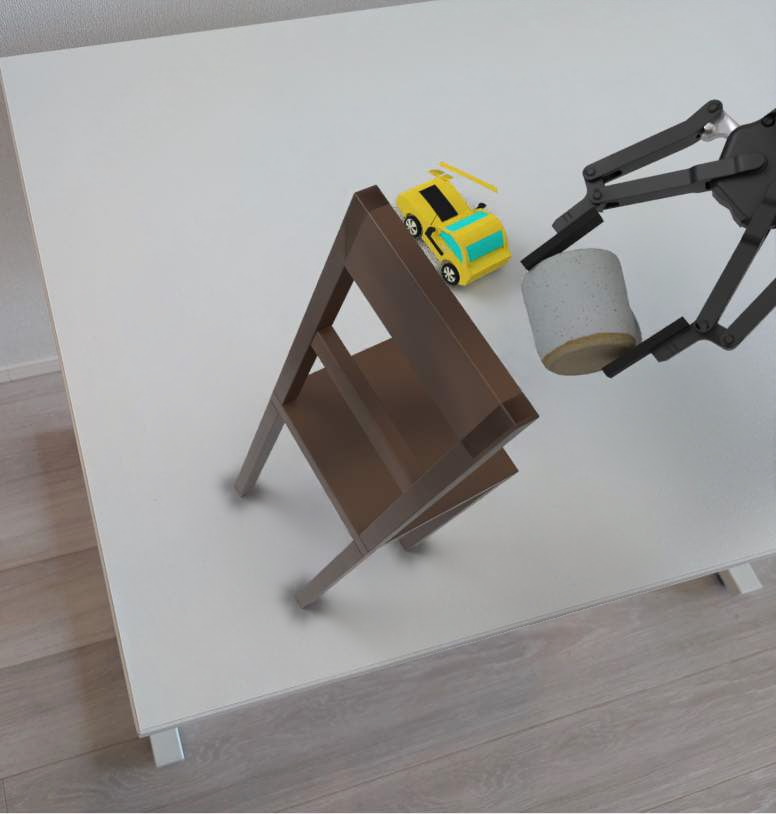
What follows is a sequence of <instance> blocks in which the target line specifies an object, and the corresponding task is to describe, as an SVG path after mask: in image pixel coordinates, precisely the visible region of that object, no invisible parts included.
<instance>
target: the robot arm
mask: <svg viewBox="0 0 776 814" xmlns="http://www.w3.org/2000/svg"><path fill="white" fill-rule="evenodd" d="M719 138H723V139H725V143H724V145H723V146H722V147H723V148H722V150H721V152H720V155H719V158H718V160H712V161H708V162H703V163H698V164H695V165H692V166H691V167H688V168H684V169H679V170H674V171H670V172H666V173H660V174H656V175H652V176H646V177H642V178H636V179H632V180H631V179H630V180H627V181H623V182H617V183H614V184H613V183H612V184H608V183H610V182H612V181H615V180H617V179H620V178H622V177H624V176H626V175H628V174H630V173H633V172H635V171H638V170H640V169H642V168H644V167H646V166H649V165H651V164H654V163H656V162H659V161H660V160H662V159H664V158H665V159H666V158H667V157H669V156H672V155H674V154H676V153H678V152H680V151H683V150H685V149H687V148H690V147H691V146H694V145H695V144H697V143H698V142H699V141H703V142H704V143H705V142H706V143H707V142H713V141H715V140H716V139H719ZM581 174H582V177H583V179H584V183H585V187H586V193H585V195H584V197H583V198H582V199H581V200H580V201H578V202H577V203H576V204H574V205H573V206H571V207H570V208H568V210H566V211H565V212H563V213H562V214H561V215H560V216H558V217H557V218H555V219H554V221H553V222H552V224H551V227H552V229H553V230H554V231H555V232H556V233H555V234H554V235H553V236H552V237H550V238H549V239H547V240H546V241H545V242H544V243H542V244H541V245H540V246H538V247H536V249H534V250H533V251H531V252H530V253H529V254H527V255H526V256H525V257H523V258H521V260H519V262H520V264H521V265H522V267H523V268H524V270H526V271H527V272H528V271H529V270H530V269H531V268H533V267H534V266H535V265H537V264H538V263H540V262H541V261H543V260H545V259H547V258H549V257H552V256H554V255H556V254H559V253H562V252H565V251H567V249H569V248H570V247H571V246H573V245H574V244H575V243H577V242H578V241H579V240H582V239H583V238H584V237H585V236H587V235H588V234H589V233H591V232H592V231H594V230H595V229H597V228H598V227H599V226H601V225H602V224H603V223H604V222H605V220H604V219H603V217H602V215H601V214H600V213H604V211H606V210H613V209H617V208H621V207H627V206H632V205H637V204H643V203H647V202H653V201H658V200H663V199H668V198H673V197H678V196H682V195H689V194H701V193H707V192H711V196H712V197H713V199H714V200H715V201H716V202H717V203H718V204H719V205H721V206H722V207H724V208H725V209H727V210H728V211H729V213H730V215H731V218H732V220H733V221H734V223H736V225H737V226H738V227H739V228H740V229H741V228H743V229H745V230H744V232H743V234H742V236H741V238H740V239H739V242H738V243H737V245H736V247H735V249H734V250H733V252H732V255H731V256H730V258H729V260H728V261H727V264H726V265H725V266H724V269H723V271H722V272H721V273H720V276H719V277H718V279H717V281H716V283H715V285H714V287H713V288H712V290H711V292H710V294H709V296H708V298H707V299H706V301H705V302H704V304H703V306H702V308H701V310H700V312H699V313H698V315H697V317H696V319H695V320H694V321H693V322H691V323H689V322H688V321H687V319H686V318H685V317H684V316H683V315H682V316H680V317H679V318H677V319H675V320H674V321H672V322H671V323H670V324H668V325H666V326H665V327H663V328H662V329H659V330H658V331H657V332H656V333H654V334H652V335H651V336H648V337H647V338H646V339H644V340H642V342H641V343H640V344H638V345H637V346H635V347H634V348H632V349H631V350H629V351H627V352H626V353H624V354H623V355H621V356H620V357H618V358H617V359H615V360H613V361H612V362H610V363H609V364H607V365H606V366H604V367H603V368H601V370H602V371H601V372H602V373H603V374H604V376H606V378H608V379H614V377H616V376H618V375H619V374H620V373H622V372H624V371H625V370H627V369H628V368H630V367H632V366H633V365H635V364H636V363H638V362H639V361H642V360H643V359H644V358H646V357H648V356H649V355H650V354H651V355H652V356H653V357H654V359H655V360H656V361H657V362H658V363H663V362H666V361H667V362H668V361H669V360H670V359H672V358H674V357H675V356H677V355H678V354H680V353H683V351H685V350H686V349H688V348H690V347H692V346H693V345H695V344H696V343H698V342H700V341H708V342H710V343H712V344H714V345H716V346H718V347H719V348H721V349H722V350H724V351H727V352H729V351H733V350H735V349H737V348H738V347H739V346H740V344H741V343H742V342H744V340H745V339H746V338H747V337H749V336H750V334H751V333H752V332H753V331H754V330H756V328H757V327H758V326H759V325H760V324H761V323H762V322H763V321H764V320H765V319H766V318H767V317H768V316H769V314H771V313H772V312H773V311H774V310H775V308H776V277H775V278H773V280H772V281H771V282H769V284H768V285H767V286H766V287H765V288H764V289H762V291H761V293H759V294H758V295H757V297H755V299H754V300H753V301H752V302H751V303H750V304H749V305H748V306H747V307H746V308H744V310H743V311H742V312H741V313H740V314H739V315H738V316H737V317H736V318H735V320H733V322H732V323H731V324H730V325H729V326H728V327H725V326H723V325H721V324H719V322H720V320H721V318H722V316H723V314H724V313H725V311H726V309H727V308H728V306H729V304H730V302H731V300H732V298H733V297H734V295H735V294H736V291H738V288H739V286H740V284H741V283H742V281H743V279H744V277H745V276H746V274H747V272H748V271H749V269H750V267H751V265H752V263H753V261H754V259H755V258H756V256H757V254H758V253H759V252H760V250H761V248H762V247H763V245H764V243H765V241H766V240H767V238H768V236H769V235H770V232H771V231H772V230H776V107H775V108H774V109H772V110H770V111H769V112H767V113H766V114H765V115H764V116H763V117H761V118H759V119H757V120H756V121H755V120H754V121H752V122H750V123H749V122H748V123H745V124H741V125H740V124H739V123H738V122H737V121H736V120H734V118H733V117H731V116H730V115H729V114H728V113H727V112H726V111H725V110H724V104H723V102H722V101H721V100H719V99H715V98H714V99H710V100H708V101H707V102H706V103H705V104H703V105H702V106H701V107H699V109H698V110H696V111H695V112H694V113H693V114H692V115H691V116H689V117H688V118H687V119H686V120H684V121H682V122H679V123H677V124H675V125H673V126H671V127H668V128H667V129H664V130H661V131H659V132H657V133H655V134H653V135H651V136H649V137H647V138H645V139H642V140H640V141H638V142H636V143H633V144H631V145H629V146H627V147H624V148H623V149H620V150H617V151H616V152H613V153H612V154H609V155H607V156H605V157H602V158H600V159H598V160H596V161H593V162H591V163H589V164H588V165H585V167H584V168H583V169H582V173H581ZM606 184H608V185H606Z"/></svg>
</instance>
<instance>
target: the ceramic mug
mask: <svg viewBox="0 0 776 814" xmlns="http://www.w3.org/2000/svg"><path fill="white" fill-rule="evenodd" d="M625 281H626V280H625V276H624V271H623V268H622V264H621V261H620V259H619V257H618V255H617V254H616V253H613V252H612V251H611V250H608V249H605V248H604V249H603V248H597V247H587V248H577V249H576V248H575V249H571V250H570V249H569V250H564V251H563V252H562V253H559V254H556V255H554V256H552V257H549V258H547V259H545V260H543V261H541V262H540V263H538V264H537V265H535V266H534V267H533V268H531V269H530V270H529V271H528V270H527V272H526V273H525V274H524V275H523V277H522V278H521V282H520V292H521V295H522V298H523V302H524V303H523V304H524V306H525V310H526V314H527V318H528V323H529V325H530V329H531V333H532V338H533V342H534V344H535V349H536V353H537V355H538V357H539V359H540V362H541V364H542V366H543V367H544V368H545V369H546V370H547V371H549V372H551V373H553V374H555V375H559V376H565V377H568V376H569V377H573V376H574V377H575V376H577V377H578V376H585V375H590V374H594V373H599V372H603V371H602V370H601V368H603V367H604V366H606V365H607V364H609V363H610V362H612V361H613V360H615V359H617V358H618V357H620V356H621V355H623V354H624V353H626V352H627V351H629V350H631V349H632V348H634V347H635V346H637V345H638V344H640V343H641V342H643V335H642V330H641V326H640V324H639V322H638V319H637V316H636V315H635V313H634V311H633V310H632V308H631V306H630V305H631V304H630V300H629V297H628V291H627V286H626V282H625Z"/></svg>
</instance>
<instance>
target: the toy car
mask: <svg viewBox="0 0 776 814" xmlns="http://www.w3.org/2000/svg"><path fill="white" fill-rule="evenodd" d="M437 165H438V166H440V167H442V168H445V169H447V170H448V171H450V172H452V173H455V174H457V175H460V176H462V177H463V178H465V179H467V180H470V181H472V182H474V183H476V184H477V185H480V186H482V187H484V188H486V189H488V190H490V191H491V192H494V193H496V194H499V191H498V187H497V186H494V185H492V184H490V183H488V182H486V181H484V180H483V179H480V178H478V177H476V176H474V175H472V174H470V173H467V172H465V171H463V170H461V169H459V168H456V167H455V166H453V165H451V164H448V163H446V162H444V161H441V162H438V163H437ZM426 173H429V174H430V175H432V176H434V177H435V178H432V179H430V180H427V181H425V182H423V183H421V184H419V185H416V186H414V187H412V188H409V189H407V190H405V191H402V192H401V193H398V195H397V197H396V199H395V203H396V207H397V208H398V210H399V211H400V212H401V214H402V215H403V216H404V217H405V218H404V221H403V223H404V224H405V226H406V227H407V229H408V230H409V231H410V233H411V234H412V236H413V237H414V238H415V239H416V238H419V237H420V236H421V235H422V236H421V239H422V240H423V242H424V243H425V244H426V245H427V247H428V248H429V250H430V251H431V252H432V253H433V254H434V256H435V257H436V258H437V259H438V261H439V262H440V263H441V264H442V263H444V262H445V263H444V264H442V265H441V271H440V272H441V277H442V278H443V280H444V281H445V283H446V284H447V285H448V286H449V285H450V286H456V285H460V286H467V285H468V284H471V283H473V282H474V281H477V280H478V279H481V278H482V277H485V276H486V275H488V274H491V273H492V272H494V271H496V270H498V269H500V268H502V267H504V266H506V265H507V264H508V262H509V261H510V260H511V259H512V258H513V255H512V252H511V250H510V247H509V241H508V235H507V232H506V230H505V227H504V225H503V222H502V220H501V219H499V217H498V216H497V215H494V213H492V212H491V211H488V210H486V209H485V208H486V207H487V204H486V203H484V202H479V203H478V204H477V206H476V207H475V208H474V209H472V208H470V206H469V204H468V203H467V201H466V200H465V199H464V197H463V196H462V195H461V194H460V192H459V191H458V189H456V187H455V186H454V185H453V183H451V182H450V180H452V179H454V178H455V176H453V175H450V174H447V173H446V172H445V171H443V170H440V169H430V170H428V171H426ZM447 261H448V262H447Z"/></svg>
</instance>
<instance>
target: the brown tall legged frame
mask: <svg viewBox="0 0 776 814" xmlns="http://www.w3.org/2000/svg"><path fill="white" fill-rule="evenodd" d="M354 283H355V284H356V286H357V287H358V289H359V290H360V292H361V293H362V295H363V297H364V298H365V299H366V301H367V302H368V304H369V305H370V307H371V309H372V310H373V311H374V313H375V314H376V316H377V318H378V319H379V320H380V322H381V324H382V325H383V326H384V327H385V329H386V331H387V333H388V334H389V335H390V338H388V339H386V340H383V341H380V342H379V343H376V344H375V345H372V346H370V347H368V348H365V349H363V350H361V351H358V352H357V353H354V354H352V355H351V353H350V351H349V350H348V348H347V347H346V345H345V344H344V342H343V340H342V339H341V338H340V336H339V334H338V333H337V331H336V329H335V328H334V326H333V325H334V323H335V321H336V319H337V318H338V314H339V312H340V310H341V309H342V306H343V304H344V303H345V300H346V298H347V296H348V294H349V292H350V290H351V288H352V287H353V286H352V285H353V284H354ZM317 358H318V359H319V361H320V362H321V364H322V366H323V367H322V368H320V369H318V370H315V371H314V372H312V373H311V371H312V368H313V366H314V364H315V363H316V360H317ZM539 418H540V415H539V413H538V411H537V410H536V408H535V407H534V405H533V404H532V403H531V402H530V400H529V398H528V397H527V395H526V394H525V393H524V391H522V388H521V387H520V386H519V385H518V383H517V382H516V381H515V379H514V378H513V376H512V375H511V373H510V372H509V371H508V369H507V368H506V366H505V365H504V364H503V361H501V359H500V357H499V356H498V355H497V353H496V352H495V350H494V349H493V348H492V346H491V345H490V344H489V342H488V341H487V339H486V337H485V336H484V335H483V333H482V332H481V331H480V329H479V328H478V326H477V325H476V323H475V322H474V321H473V319H472V318H471V317H470V315H469V314H468V312H467V311H466V310H465V308H464V306H463V305H462V303H461V302H460V301H459V300H458V298H457V297H456V295H455V294H454V292H453V291H452V290H451V288H450V287H449V284H448V283H447V282H446V281H445V280H444V279H443V276H442V274H440V272H439V271H438V270H437V268H436V267H435V265H434V264H433V263H432V261H431V260H430V258H429V257H428V255H427V254H426V253H425V251H424V250H423V249H422V247H421V245H420V244H419V243H418V241H417V240H416V238H414V237H413V236H412V234H411V233H410V231H409V230H408V229H407V227H406V226H405V224H404V221H403V220H402V219H401V217H400V216H399V214H398V213H397V211H396V210H395V209H394V207H393V206H392V204H391V203H390V201H389V199H388V198H387V197H386V196H385V194H384V193H383V191H382V190H381V188H380V187H379V186H378V184H373V185H371V186H368V187H365V188H363V189H360V190H357V191H355V192H353V195H352V197H351V199H350V202H349V204H348V206H347V209H346V212H345V214H344V216H343V219H342V221H341V224H340V225H339V229H338V231H337V233H336V236H335V238H334V241H333V243H332V245H331V248H330V251H329V253H328V255H327V258H326V260H325V262H324V265H323V267H322V270H321V273H320V275H319V278H318V280H317V282H316V285H315V287H314V290H313V292H312V295H311V297H310V300H309V302H308V304H307V306H306V309H305V312H304V314H303V317H302V319H301V322H300V324H299V326H298V329H297V332H296V334H295V336H294V339H293V341H292V344H291V345H290V349H289V351H288V353H287V355H286V358H285V361H284V362H283V366H282V368H281V370H280V372H279V375H278V378H277V380H276V382H275V386H274V388H273V389H272V391H271V395H270V398H269V399H268V403H267V405H266V407H265V409H264V413H263V415H262V417H261V419H260V421H259V424H258V427H257V429H256V432H255V434H254V437H253V439H252V442H251V444H250V446H249V449H248V451H247V453H246V456H245V459H244V461H243V463H242V466H241V469H240V471H239V473H238V476H237V478H236V481H235V483H234V488H235V490H236V492H237V494H238V495H239V497H244V496H245V495H246V496H247V495H248V494H250V493H252V492H253V490H254V488H255V485H256V483H257V482H258V480H259V477H260V475H261V473H262V471H263V469H264V467H265V466H266V463H267V461H268V459H269V457H270V455H271V453H272V451H273V449H274V446H275V444H276V442H277V440H278V438H279V437H280V434H281V432H282V430H283V428H284V426H286V428H287V429H288V431H289V432H290V435H291V436H292V438H293V439H294V441H295V443H296V445H297V446H298V448H299V449H300V451H301V452H302V455H303V456H304V458H305V460H306V462H307V463H308V465H309V467H310V469H311V470H312V472H313V474H314V475H315V477H316V479H317V480H318V482H319V484H320V486H321V487H322V489H323V490H324V493H325V494H326V496H327V498H328V500H329V501H330V503H331V504H332V506H333V507H334V509H335V511H336V513H337V514H338V516H339V518H340V519H341V522H342V523H343V524H344V526H345V528H346V529H347V531H348V534H349V535H350V536H351V538H352V541H351V542H350V543H349V544H348V545H347V546H346V547H344V548H343V549H342V550H341V551H340V552H339V553H337V555H336V556H335V557H334V558H333V559H331V561H330V562H329V563H327V565H325V566H324V567H323V568H322V569H321V570H320V571H319V572H318V573H317V574H316V575H315V576H314V577H313V578H312V579H310V580H309V581H308V583H307V584H305V586H302V588H301V589H300V590H299V591H298V592H297V593H296V594H295V595H294V598H295V599H296V601H297V603H298V605H299V607H300V609H305V607H307V606H309V605H311V604H312V603H315V602H316V601H317V600H318V599H319V598H321V596H322V595H324V594H325V593H326V592H328V591H329V590H330V589H331V588H332V587H335V585H336V584H338V583H339V582H340V581H341V580H342V579H344V578H345V577H346V576H347V575H349V574H350V573H351V572H352V571H353V570H354V569H356V568H357V567H358V566H360V565H361V564H362V563H363V562H364V561H365V560H367V559H368V558H369V557H371V556H372V555H373V554H374V553H376V551H378V550H379V549H381V548H383V547H385V546H386V545H388V544H390V543H392V542H394V541H396V540H398V541H399V542H400V544H401V546H402V547H403V549H404V551H405V552H408V551H410V550H411V549H413V548H415V547H417V546H418V545H419V544H421V543H422V542H424V541H425V540H426V539H428V538H429V537H430V536H432V535H433V534H435V533H436V532H437V531H439V530H440V529H442V528H443V527H445V526H446V525H448V523H450V522H451V521H453V520H455V519H456V518H457V517H459V516H460V515H461V514H463V512H465V511H466V510H468V509H470V508H471V507H472V506H474V505H475V504H476V503H478V502H479V501H481V500H482V499H483V498H484V497H486V496H487V495H489V494H490V493H491V492H493V491H495V490H496V489H498V487H500V486H501V485H503V484H504V483H505V482H507V481H508V480H510V479H511V478H512V477H514V476H515V475H516V474H518V473H519V472H520V471H519V469H518V467H517V465H516V464H515V463H514V462H513V460H512V458H511V457H510V455H509V454H508V452H507V451H506V450H505V448H504V447H505V446H506V445H507V444H509V442H511V441H512V440H514V439H515V438H516V437H517V436H518V435H520V434H521V433H522V432H523V431H524V430H526V429H527V428H528V427H530V425H532V424H534V422H535V421H537V420H538V419H539Z"/></svg>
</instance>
